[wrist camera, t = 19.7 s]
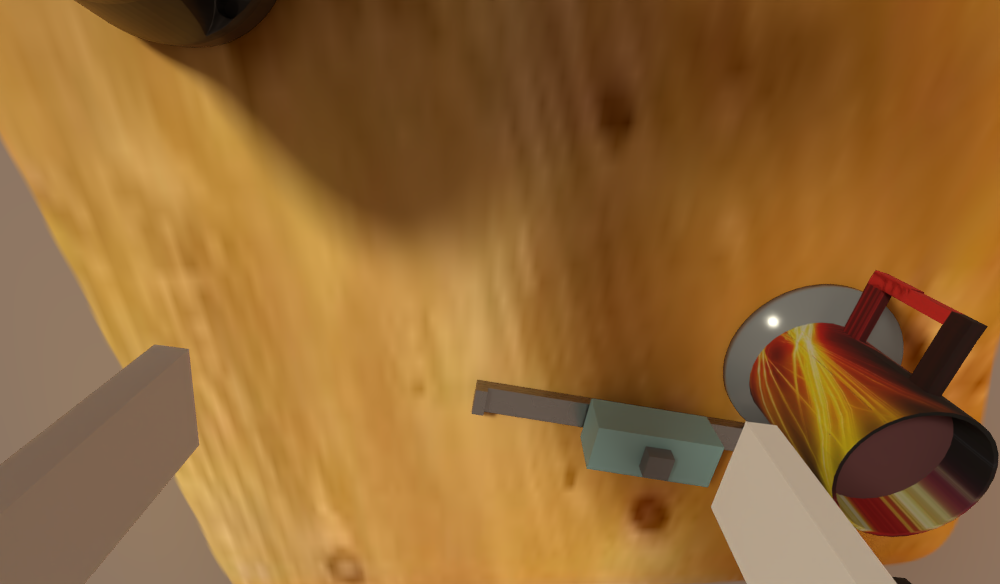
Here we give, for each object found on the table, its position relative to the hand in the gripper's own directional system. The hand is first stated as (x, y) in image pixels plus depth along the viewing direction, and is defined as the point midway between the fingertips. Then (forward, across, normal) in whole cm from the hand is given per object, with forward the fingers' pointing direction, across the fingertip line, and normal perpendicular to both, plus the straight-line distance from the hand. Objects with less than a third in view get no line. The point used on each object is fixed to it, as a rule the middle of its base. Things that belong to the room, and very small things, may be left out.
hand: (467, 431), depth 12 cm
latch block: (+26, +15, -18) cm, 35 cm away
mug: (+27, +27, -9) cm, 39 cm away
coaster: (+28, +28, -10) cm, 41 cm away
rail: (+28, +14, -18) cm, 36 cm away
